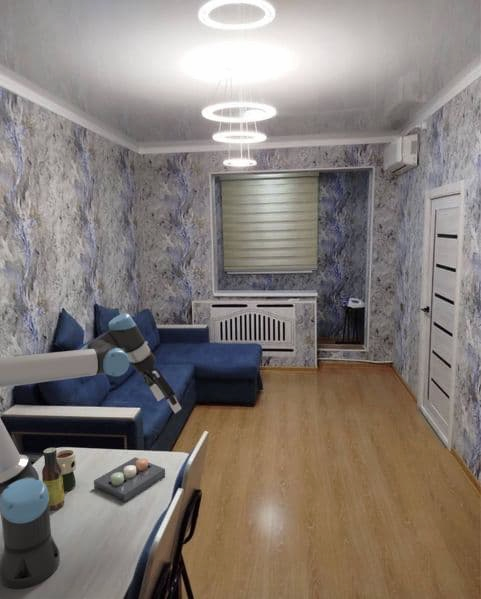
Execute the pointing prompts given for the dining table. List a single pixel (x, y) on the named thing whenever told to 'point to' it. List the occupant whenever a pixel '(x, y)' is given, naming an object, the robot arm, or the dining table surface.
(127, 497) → the panel
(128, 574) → the dining table surface
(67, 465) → the character mug
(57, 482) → the sauce bottle
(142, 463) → the terracotta button
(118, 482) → the sage button
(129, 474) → the cream button
